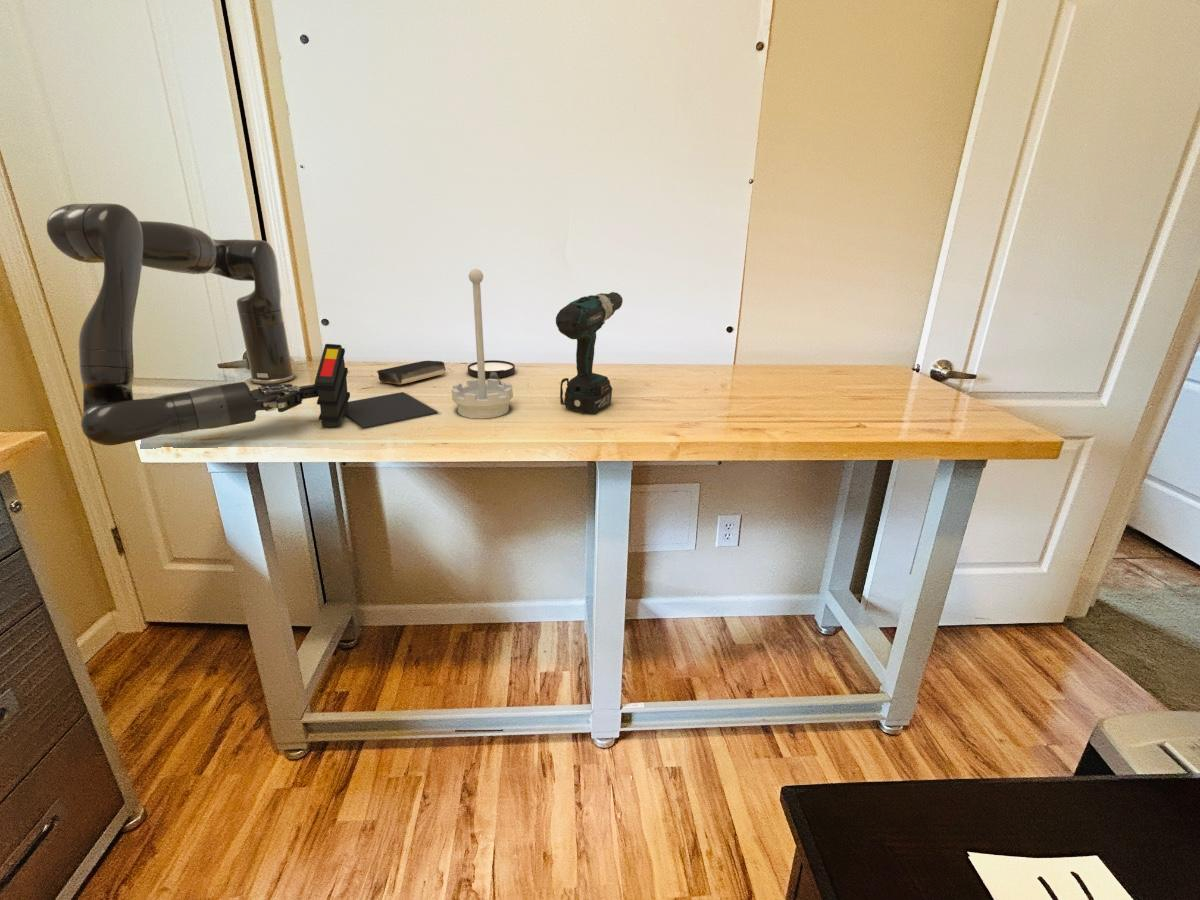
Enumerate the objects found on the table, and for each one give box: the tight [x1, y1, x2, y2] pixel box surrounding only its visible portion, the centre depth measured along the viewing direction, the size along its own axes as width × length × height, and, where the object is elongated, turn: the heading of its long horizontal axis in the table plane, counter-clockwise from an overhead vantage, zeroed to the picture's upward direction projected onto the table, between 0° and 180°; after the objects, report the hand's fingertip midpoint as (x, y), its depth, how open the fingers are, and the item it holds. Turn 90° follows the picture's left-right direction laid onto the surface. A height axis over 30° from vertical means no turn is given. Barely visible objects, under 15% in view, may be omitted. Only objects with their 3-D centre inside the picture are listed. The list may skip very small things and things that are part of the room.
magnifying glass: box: [467, 359, 516, 385], centre depth 157 cm, size 12×24×2 cm, turn 14°
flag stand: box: [451, 268, 514, 419], centre depth 127 cm, size 13×13×30 cm
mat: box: [344, 391, 438, 429], centre depth 132 cm, size 18×16×1 cm
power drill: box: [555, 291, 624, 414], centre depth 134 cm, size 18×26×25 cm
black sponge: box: [376, 360, 446, 385], centre depth 154 cm, size 16×8×4 cm, turn 144°
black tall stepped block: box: [313, 343, 351, 428], centre depth 123 cm, size 4×13×15 cm
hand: (320, 389), depth 121 cm, fingers closed
